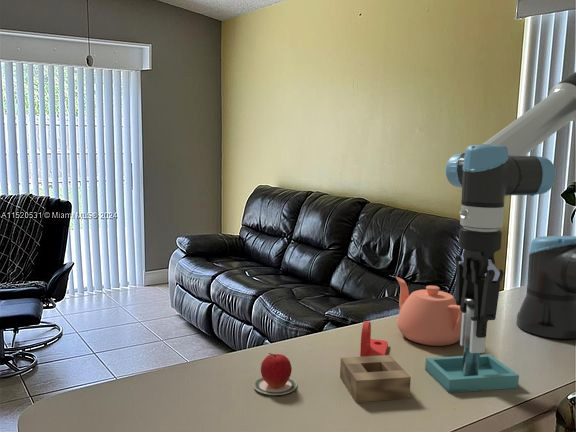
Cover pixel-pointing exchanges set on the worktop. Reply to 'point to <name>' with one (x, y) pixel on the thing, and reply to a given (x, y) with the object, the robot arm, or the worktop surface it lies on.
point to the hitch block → (374, 378)
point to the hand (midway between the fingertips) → (472, 348)
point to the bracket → (371, 343)
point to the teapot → (429, 316)
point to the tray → (488, 376)
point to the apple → (275, 376)
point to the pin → (469, 359)
